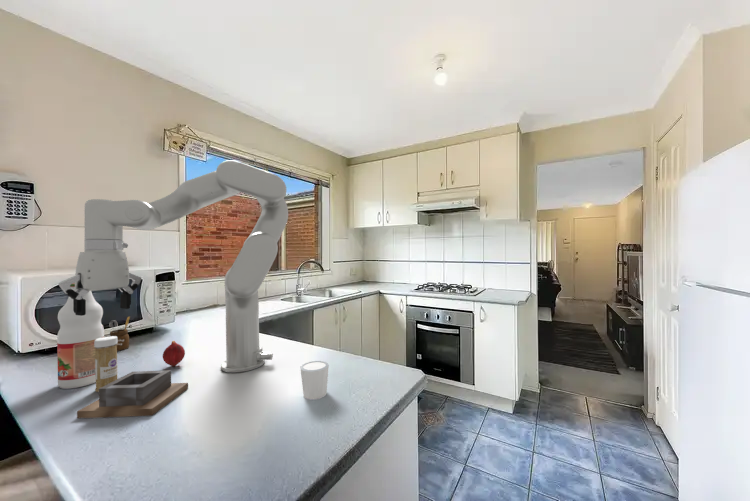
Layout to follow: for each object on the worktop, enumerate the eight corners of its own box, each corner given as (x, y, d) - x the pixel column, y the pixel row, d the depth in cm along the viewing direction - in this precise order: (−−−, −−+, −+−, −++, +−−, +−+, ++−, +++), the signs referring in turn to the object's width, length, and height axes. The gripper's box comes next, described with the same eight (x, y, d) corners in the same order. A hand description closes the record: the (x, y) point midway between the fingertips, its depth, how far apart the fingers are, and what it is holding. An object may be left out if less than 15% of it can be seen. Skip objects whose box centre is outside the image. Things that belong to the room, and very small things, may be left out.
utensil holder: (114, 347, 116) (114, 316, 116) (133, 346, 117) (133, 315, 117) (104, 352, 110) (104, 319, 110) (124, 350, 111) (124, 318, 112)
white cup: (304, 403, 69) (304, 373, 69) (297, 391, 75) (297, 363, 75) (333, 396, 72) (332, 367, 72) (324, 385, 78) (323, 358, 78)
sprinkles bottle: (110, 392, 77) (109, 339, 77) (90, 393, 77) (89, 340, 77) (122, 384, 82) (121, 335, 82) (103, 385, 81) (103, 336, 81)
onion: (189, 364, 96) (188, 339, 96) (170, 371, 91) (169, 344, 91) (177, 361, 98) (177, 337, 98) (158, 368, 93) (158, 342, 93)
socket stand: (188, 388, 78) (187, 367, 78) (152, 415, 65) (151, 390, 65) (125, 390, 78) (125, 369, 78) (77, 418, 65) (76, 392, 65)
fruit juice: (97, 385, 82) (95, 282, 82) (50, 392, 78) (48, 284, 78) (110, 372, 90) (108, 279, 90) (68, 379, 86) (66, 281, 86)
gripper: (132, 247, 89) (132, 305, 89) (51, 246, 73) (51, 317, 73) (148, 247, 86) (148, 307, 86) (68, 245, 70) (68, 319, 70)
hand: (104, 311), depth 79 cm, fingers open, 9 cm apart
